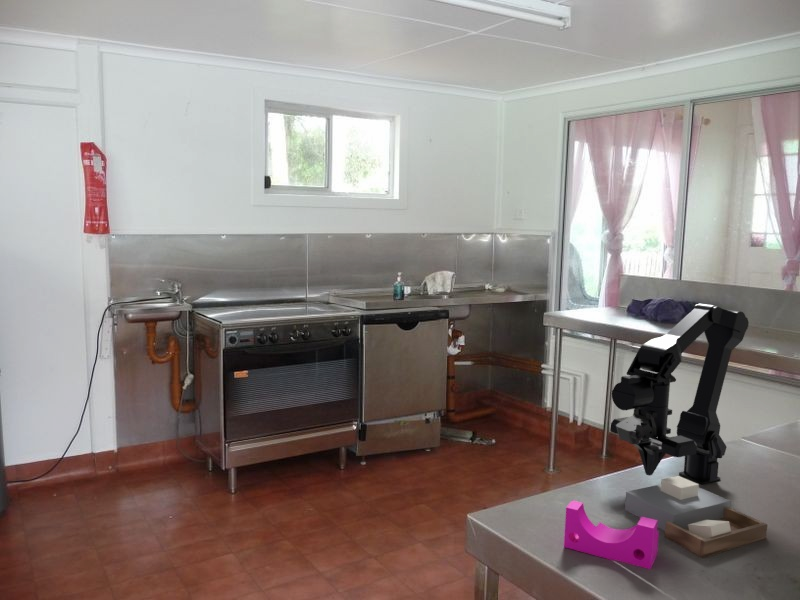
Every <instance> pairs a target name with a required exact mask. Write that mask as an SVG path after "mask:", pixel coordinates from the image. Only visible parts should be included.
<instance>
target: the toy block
mask: <svg viewBox="0 0 800 600" xmlns="http://www.w3.org/2000/svg"><path fill="white" fill-rule="evenodd" d="M585 510H586V509H585V506H584V502H580V501H577V500H573V499H572V500H571V501H570V502H569V503H568V504H567V506H566V507H565V518H564V519H565V521H564V522H565V523H564V537H563V539H564V540H563V547H564V548H565V549H570V550H572V551H578V552H582V553H584V554H589V555H592V556H595V557H599V558H603V559H607V560H611V561H614V562H616V561H618V562H622V563H626V564H629V565H633V566H636V567H641V568H645V569H648V570H651V569H652V567H653V565H654V562H655V561H656V558H657V556H658V549H659V537H660V534H659V533H660V531H659V530H658V527H657V521H658V520H654V519H650V518H646V517H641V518H639V520H638V522H637V524H636V525H633V526H632V527H630V528H625V529H617V528H612V527H609V526H608V525H606V524H603V523H602V522H601V521H600V522H599V523H598V524H597V525H594V523H593V522H591V520H590V518H589V516H588V515H587V513H586V511H585Z"/></svg>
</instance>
